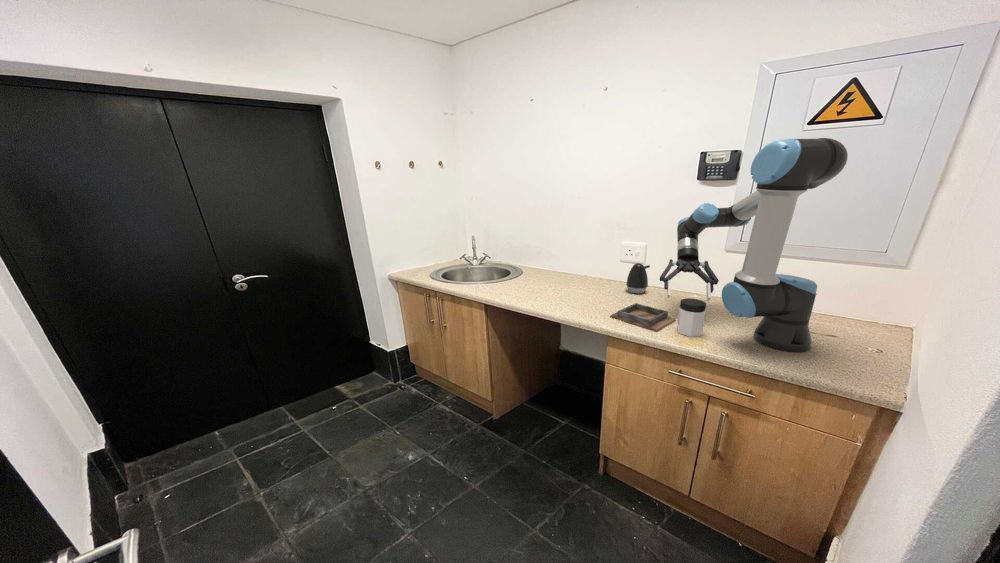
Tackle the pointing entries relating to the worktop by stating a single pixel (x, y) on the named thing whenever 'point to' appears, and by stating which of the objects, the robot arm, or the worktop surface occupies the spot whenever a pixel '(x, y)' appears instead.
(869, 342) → the worktop surface
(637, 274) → the pump dispenser
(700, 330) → the jar
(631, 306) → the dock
